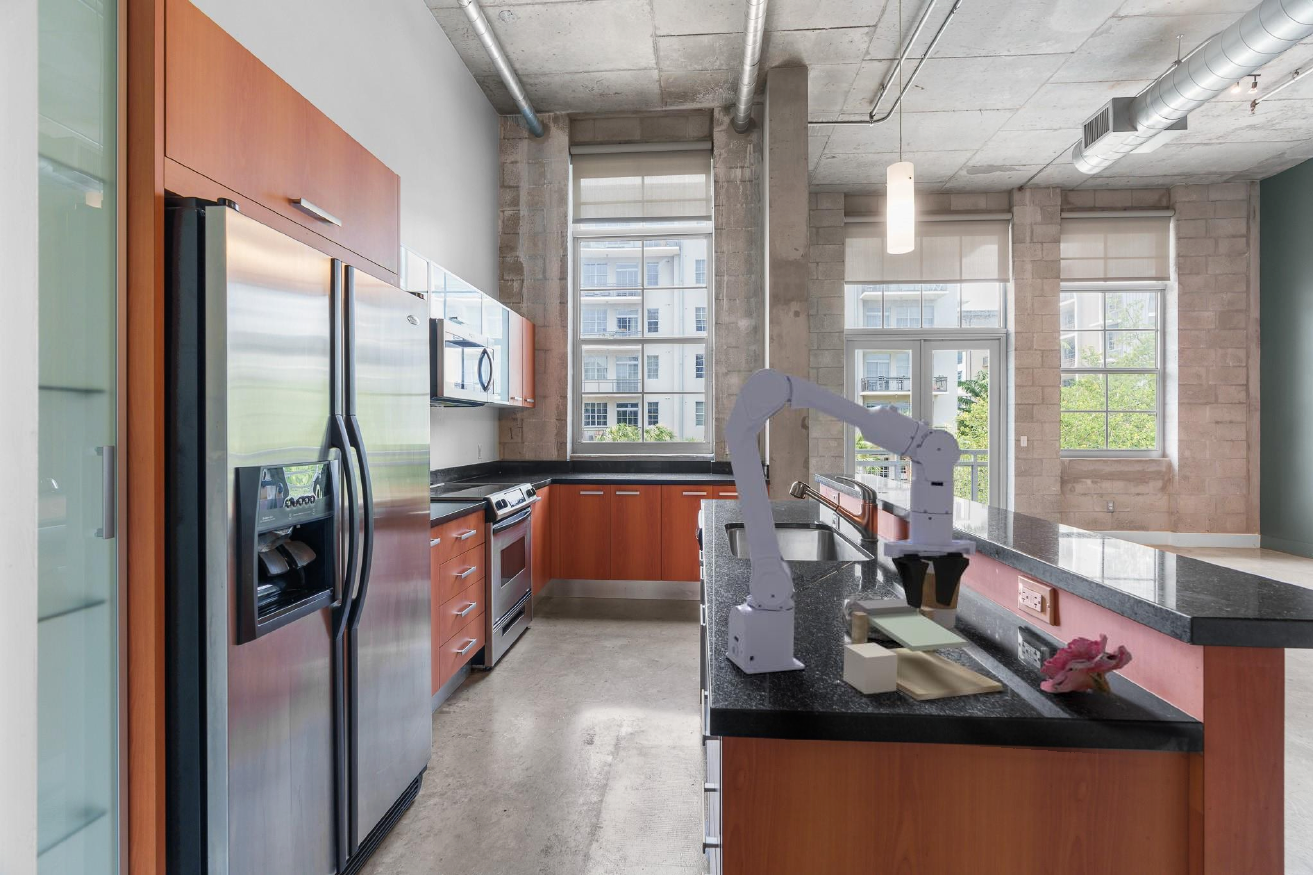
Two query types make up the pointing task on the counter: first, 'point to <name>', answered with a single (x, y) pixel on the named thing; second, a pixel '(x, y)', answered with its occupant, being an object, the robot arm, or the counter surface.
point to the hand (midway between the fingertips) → (928, 605)
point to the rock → (871, 631)
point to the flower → (1083, 666)
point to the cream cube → (870, 668)
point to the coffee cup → (941, 613)
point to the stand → (928, 668)
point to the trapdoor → (907, 625)
